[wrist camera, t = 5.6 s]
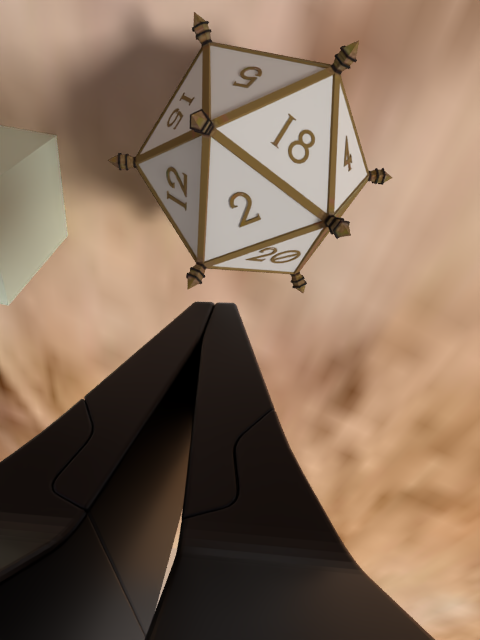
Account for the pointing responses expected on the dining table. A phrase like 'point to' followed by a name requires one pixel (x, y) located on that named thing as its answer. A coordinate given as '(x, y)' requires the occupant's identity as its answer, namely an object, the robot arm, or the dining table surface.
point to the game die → (255, 158)
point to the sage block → (28, 206)
